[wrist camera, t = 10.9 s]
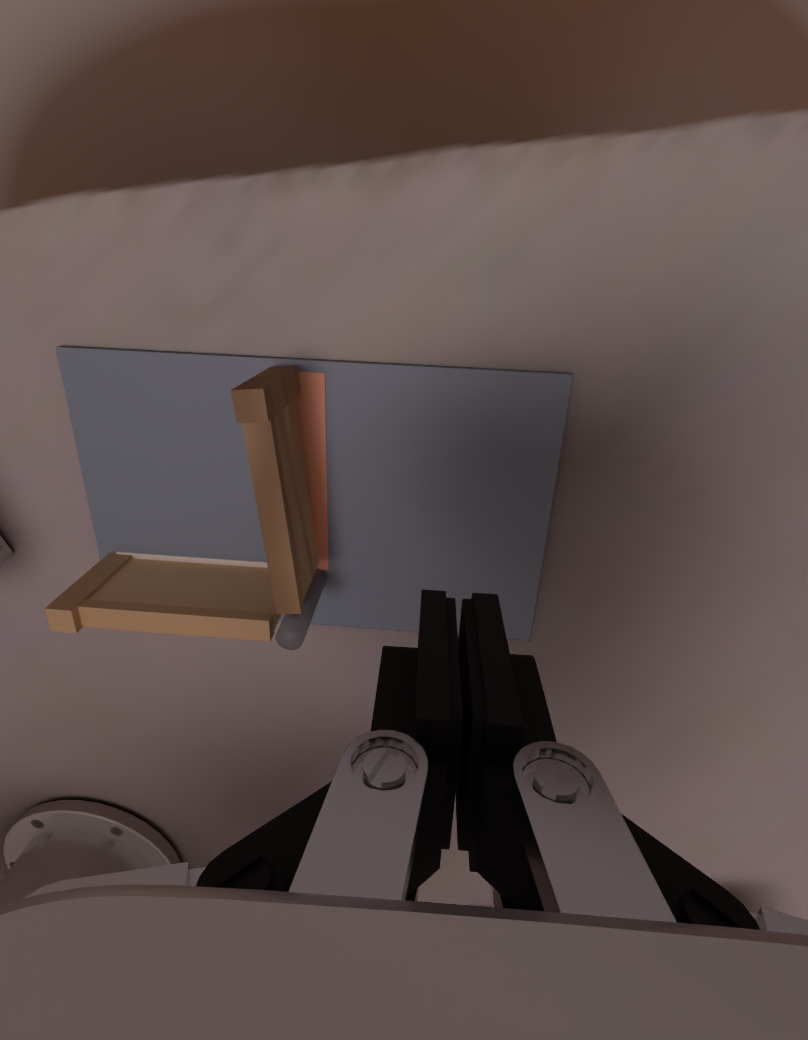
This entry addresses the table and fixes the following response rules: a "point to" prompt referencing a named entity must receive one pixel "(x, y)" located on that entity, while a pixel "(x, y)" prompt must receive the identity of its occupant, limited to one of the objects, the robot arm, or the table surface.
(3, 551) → the supplement box
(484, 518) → the card
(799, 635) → the table surface
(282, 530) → the fence hinged section
